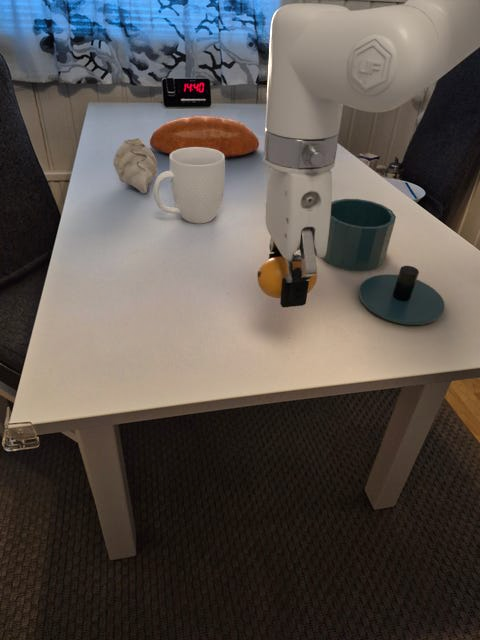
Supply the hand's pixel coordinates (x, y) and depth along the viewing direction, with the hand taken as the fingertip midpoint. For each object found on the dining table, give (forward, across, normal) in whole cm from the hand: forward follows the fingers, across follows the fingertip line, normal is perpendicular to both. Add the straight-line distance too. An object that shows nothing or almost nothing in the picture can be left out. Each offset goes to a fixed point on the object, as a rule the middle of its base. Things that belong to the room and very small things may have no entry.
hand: (285, 290), depth 58 cm
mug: (+9, +43, +7) cm, 45 cm away
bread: (+9, +88, -2) cm, 89 cm away
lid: (+9, +7, -23) cm, 26 cm away
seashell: (+9, +63, +18) cm, 66 cm away
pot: (+10, +24, -21) cm, 33 cm away
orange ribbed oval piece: (0, 0, 0) cm, 0 cm away
